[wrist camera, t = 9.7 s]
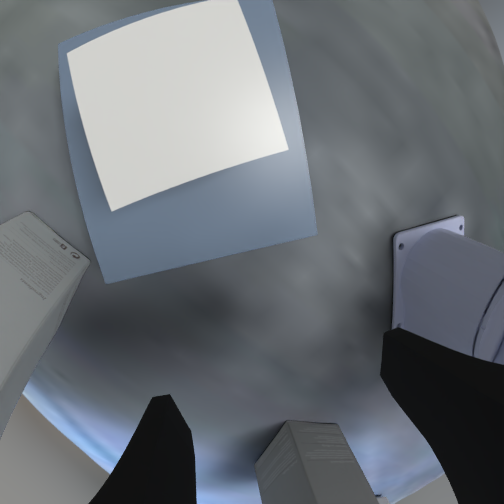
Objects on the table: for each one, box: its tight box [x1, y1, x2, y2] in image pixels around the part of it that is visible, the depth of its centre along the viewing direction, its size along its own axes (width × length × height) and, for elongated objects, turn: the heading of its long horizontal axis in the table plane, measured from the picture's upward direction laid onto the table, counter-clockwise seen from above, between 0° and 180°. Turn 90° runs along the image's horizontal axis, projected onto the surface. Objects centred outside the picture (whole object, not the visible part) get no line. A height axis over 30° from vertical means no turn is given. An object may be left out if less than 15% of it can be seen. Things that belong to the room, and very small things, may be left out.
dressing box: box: [58, 0, 318, 284], centre depth 14 cm, size 13×11×4 cm
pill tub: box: [67, 0, 289, 211], centre depth 9 cm, size 5×5×6 cm
